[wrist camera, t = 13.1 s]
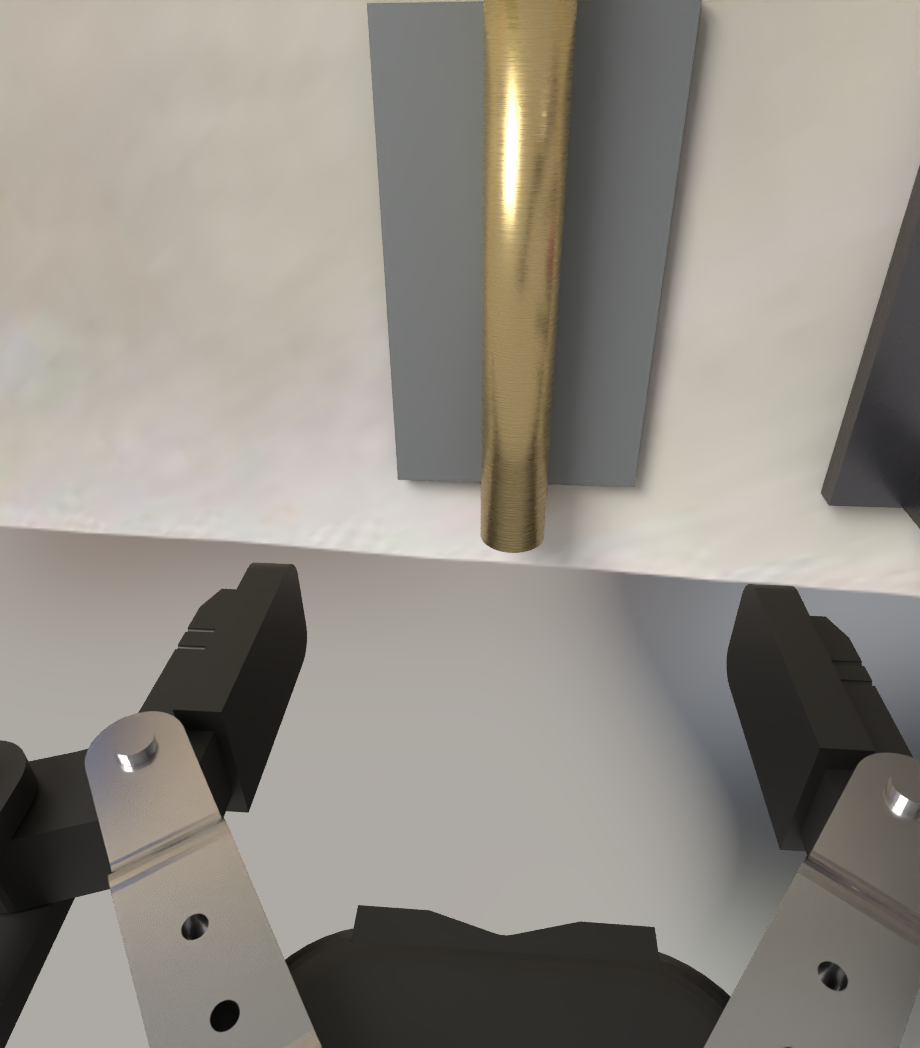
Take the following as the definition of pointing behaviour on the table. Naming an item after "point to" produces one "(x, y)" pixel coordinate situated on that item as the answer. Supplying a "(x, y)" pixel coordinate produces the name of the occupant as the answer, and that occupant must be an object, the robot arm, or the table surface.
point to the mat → (588, 231)
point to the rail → (521, 256)
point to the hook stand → (886, 393)
